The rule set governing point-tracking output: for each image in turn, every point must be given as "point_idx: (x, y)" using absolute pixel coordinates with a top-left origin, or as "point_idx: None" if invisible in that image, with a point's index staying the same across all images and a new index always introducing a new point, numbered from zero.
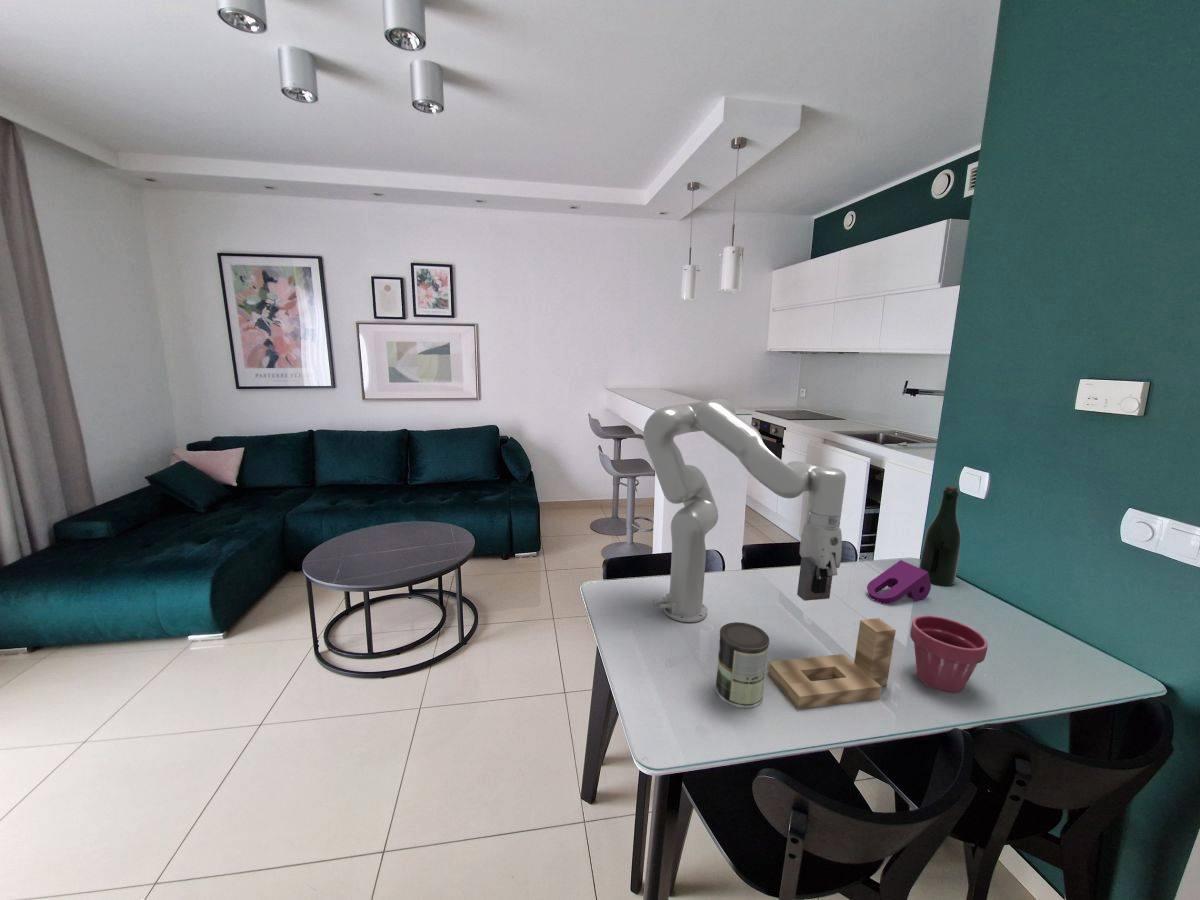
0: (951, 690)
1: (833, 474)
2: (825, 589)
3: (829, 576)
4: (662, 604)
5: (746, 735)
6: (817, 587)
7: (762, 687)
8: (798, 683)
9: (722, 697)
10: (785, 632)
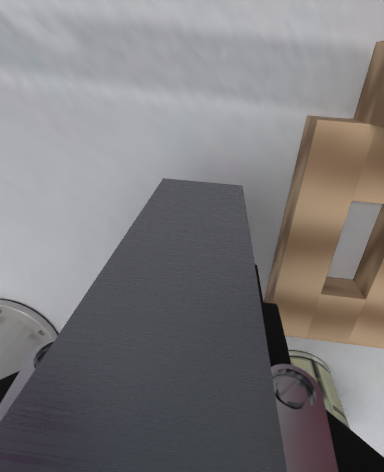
0: None
1: None
2: (257, 275)
3: (368, 452)
4: None
5: (374, 415)
6: None
7: (336, 395)
8: (355, 326)
9: None
10: (118, 169)
